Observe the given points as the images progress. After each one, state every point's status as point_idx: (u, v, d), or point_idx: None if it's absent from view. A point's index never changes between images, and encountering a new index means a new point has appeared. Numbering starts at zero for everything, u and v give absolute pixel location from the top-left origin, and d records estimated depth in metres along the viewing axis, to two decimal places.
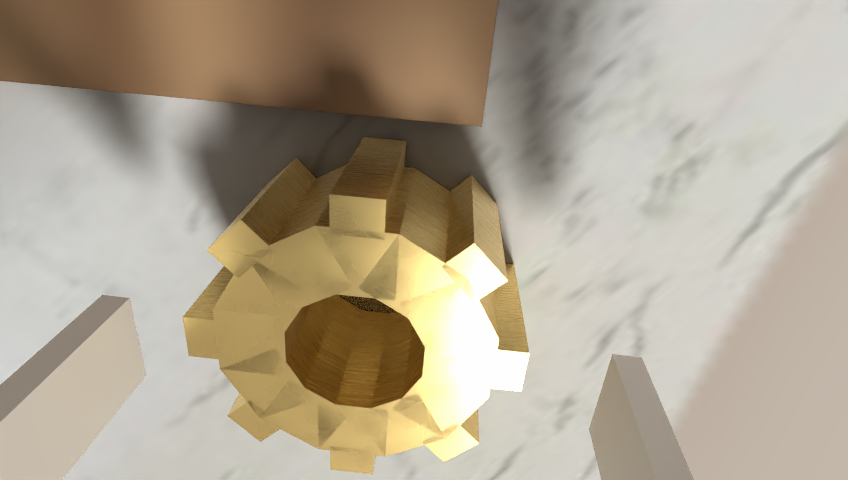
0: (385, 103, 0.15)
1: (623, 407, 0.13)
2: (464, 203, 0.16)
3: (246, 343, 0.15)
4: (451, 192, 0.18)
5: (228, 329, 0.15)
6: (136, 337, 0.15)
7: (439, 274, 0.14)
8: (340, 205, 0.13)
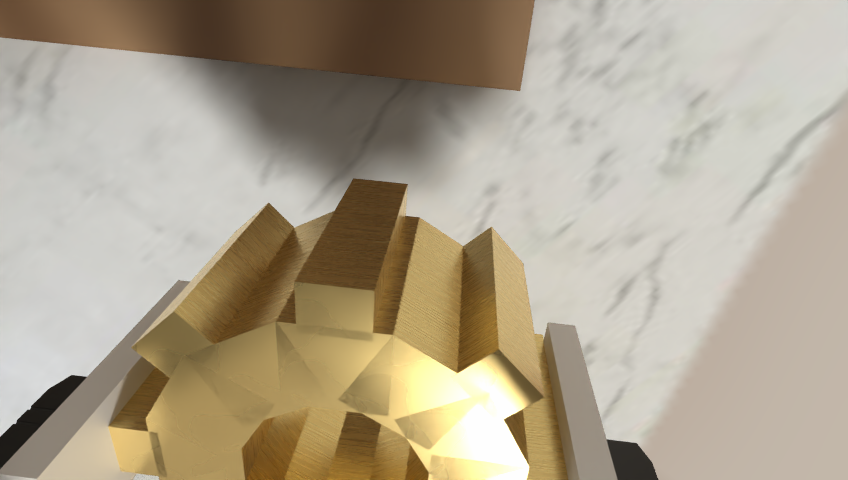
0: (437, 70, 0.18)
1: (552, 369, 0.14)
2: (483, 273, 0.12)
3: (192, 459, 0.11)
4: (465, 248, 0.14)
5: (167, 443, 0.11)
6: None
7: (449, 386, 0.10)
8: (310, 296, 0.09)
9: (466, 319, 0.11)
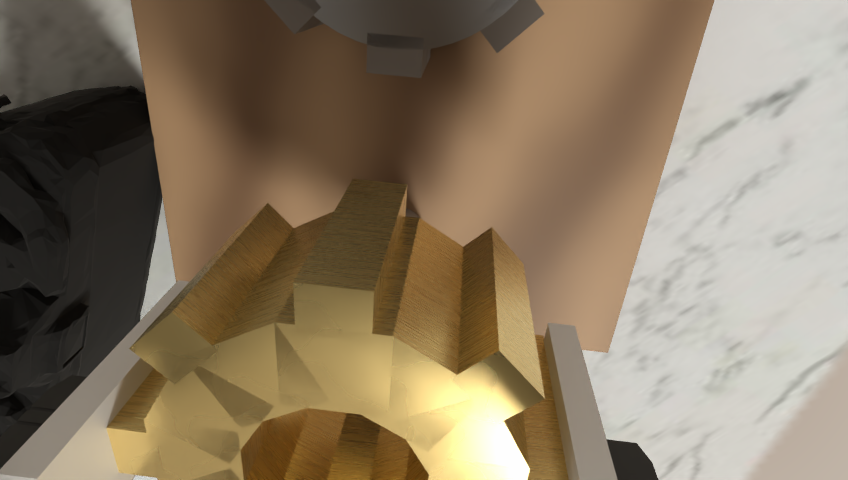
0: None
1: (552, 369, 0.14)
2: (483, 273, 0.12)
3: (191, 461, 0.11)
4: (465, 249, 0.14)
5: (166, 444, 0.11)
6: None
7: (449, 388, 0.10)
8: (309, 297, 0.09)
9: (466, 320, 0.11)
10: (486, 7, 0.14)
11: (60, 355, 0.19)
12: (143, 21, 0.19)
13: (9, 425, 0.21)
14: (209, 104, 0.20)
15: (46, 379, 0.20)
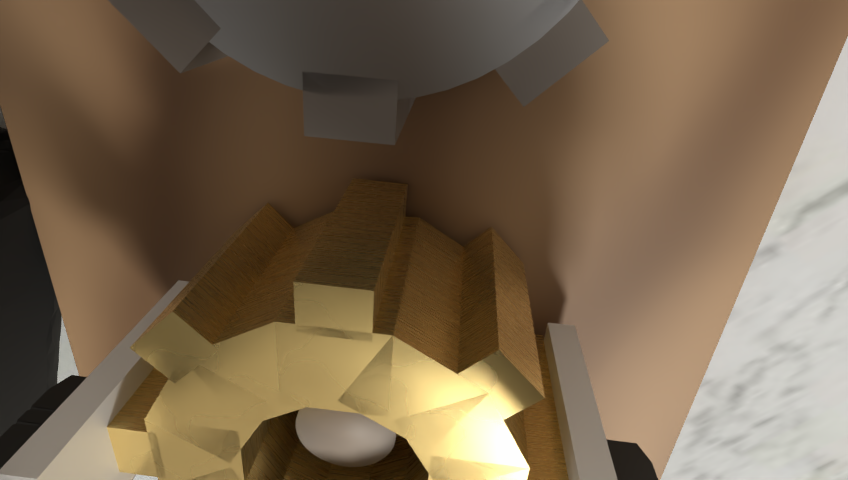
0: None
1: (552, 369, 0.14)
2: (483, 272, 0.12)
3: (191, 460, 0.11)
4: (465, 248, 0.14)
5: (166, 443, 0.11)
6: None
7: (449, 387, 0.10)
8: (309, 296, 0.09)
9: (466, 319, 0.11)
10: (506, 29, 0.08)
11: None
12: None
13: None
14: (102, 158, 0.14)
15: None
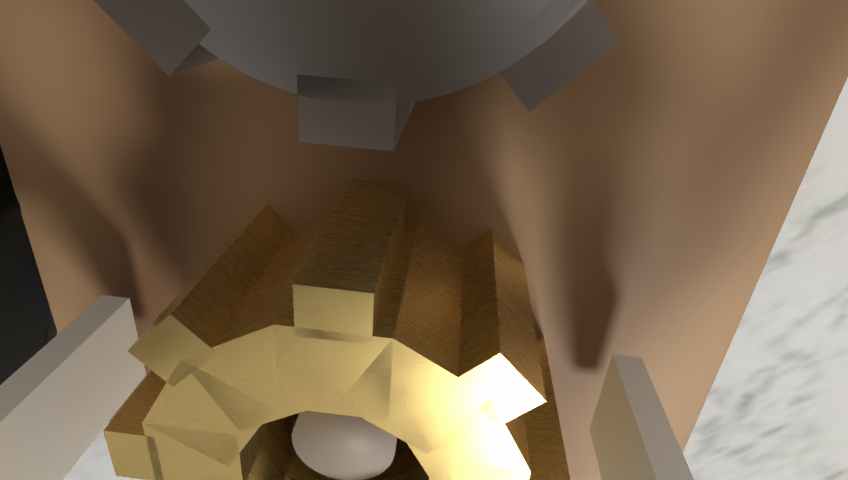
0: (582, 472, 0.18)
1: (623, 407, 0.13)
2: (483, 274, 0.12)
3: (189, 464, 0.11)
4: (465, 250, 0.14)
5: (164, 447, 0.11)
6: (136, 337, 0.15)
7: (449, 390, 0.10)
8: (308, 299, 0.09)
9: (467, 322, 0.11)
10: (511, 30, 0.08)
11: None
12: None
13: None
14: (93, 162, 0.14)
15: None
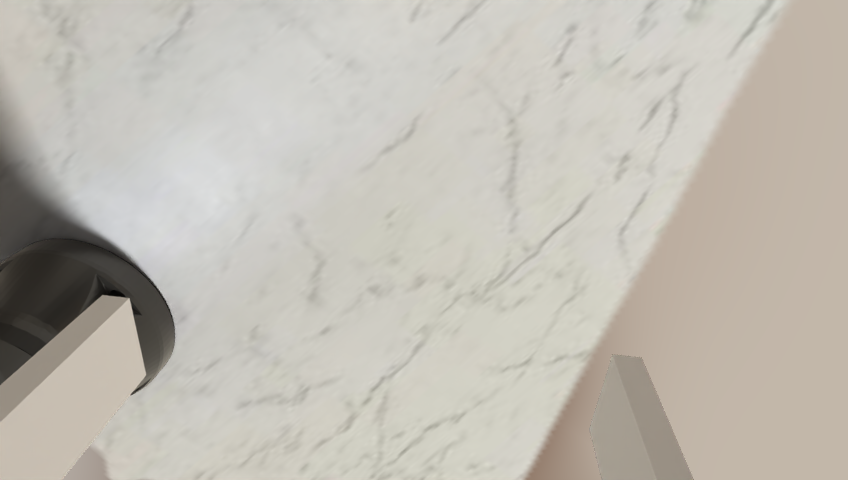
0: None
1: (622, 407, 0.13)
2: None
3: None
4: None
5: None
6: (136, 337, 0.15)
7: None
8: None
9: None
10: None
11: None
12: None
13: None
14: None
15: None
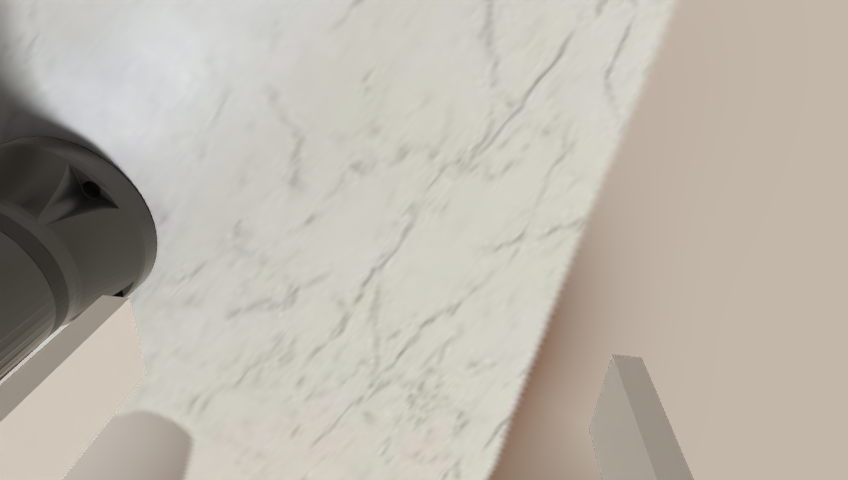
0: None
1: (623, 407, 0.13)
2: None
3: None
4: None
5: None
6: (136, 337, 0.15)
7: None
8: None
9: None
10: None
11: None
12: None
13: None
14: None
15: None
